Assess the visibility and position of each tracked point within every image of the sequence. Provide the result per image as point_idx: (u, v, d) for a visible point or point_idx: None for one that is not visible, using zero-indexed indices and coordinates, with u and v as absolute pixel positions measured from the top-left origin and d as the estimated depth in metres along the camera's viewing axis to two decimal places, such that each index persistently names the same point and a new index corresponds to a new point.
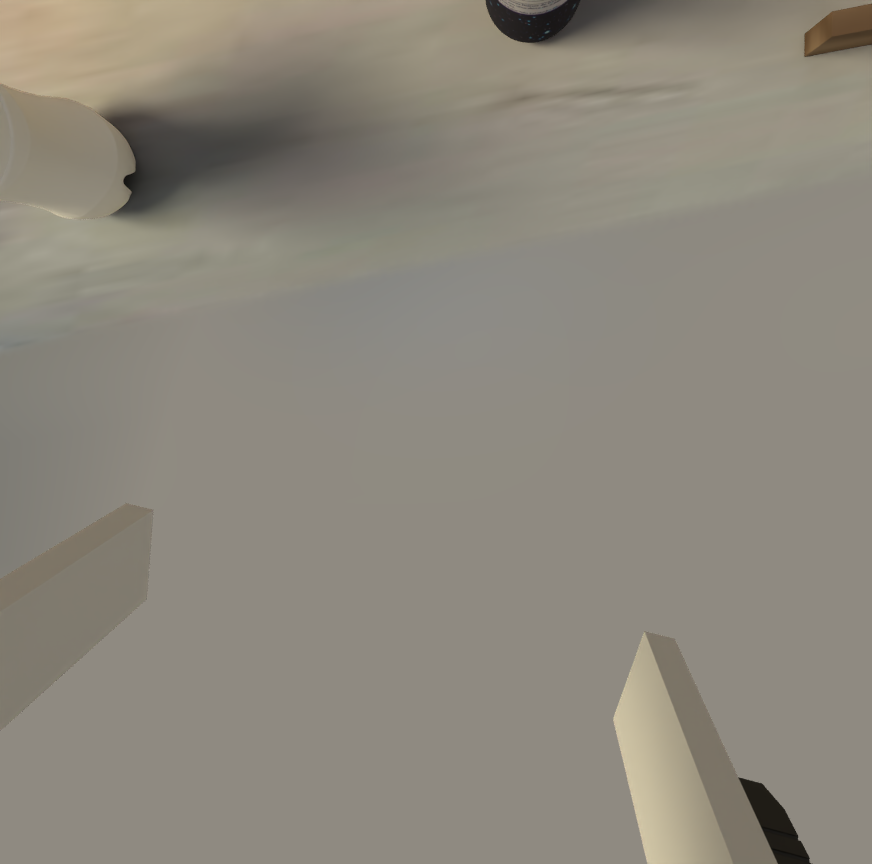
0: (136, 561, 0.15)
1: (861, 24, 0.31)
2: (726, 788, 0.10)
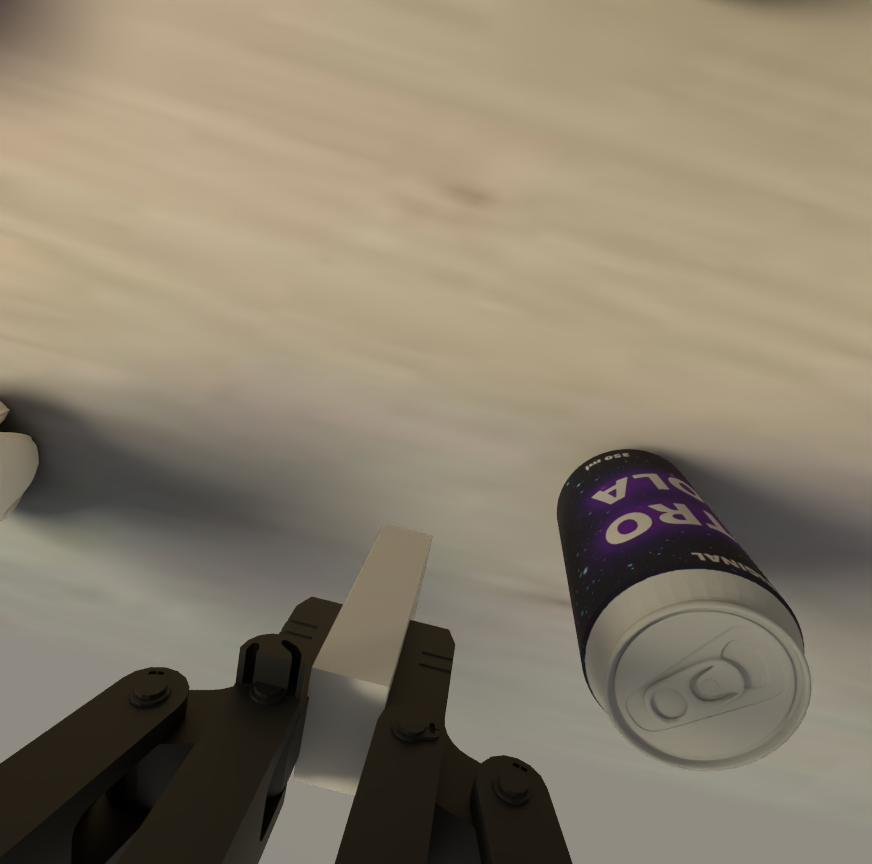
0: None
1: None
2: (392, 619, 0.13)
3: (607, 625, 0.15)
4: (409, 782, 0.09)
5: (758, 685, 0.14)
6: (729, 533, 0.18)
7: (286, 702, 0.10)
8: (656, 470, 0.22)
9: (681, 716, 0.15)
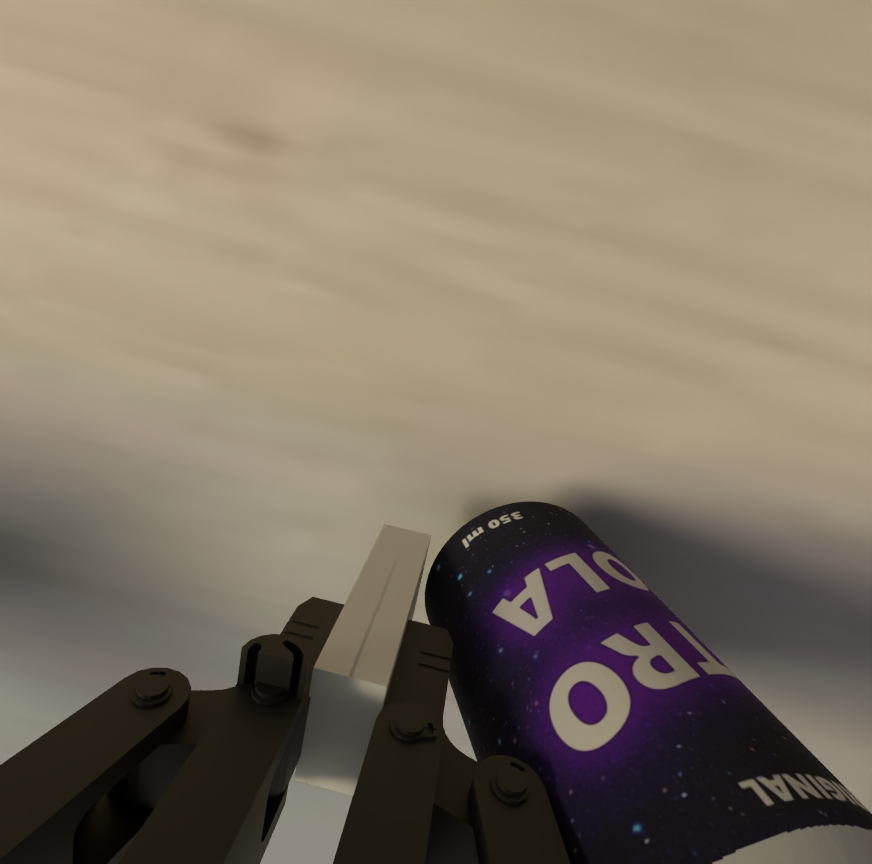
0: None
1: None
2: (391, 619, 0.13)
3: None
4: (408, 782, 0.09)
5: None
6: None
7: (288, 703, 0.10)
8: (571, 543, 0.15)
9: None
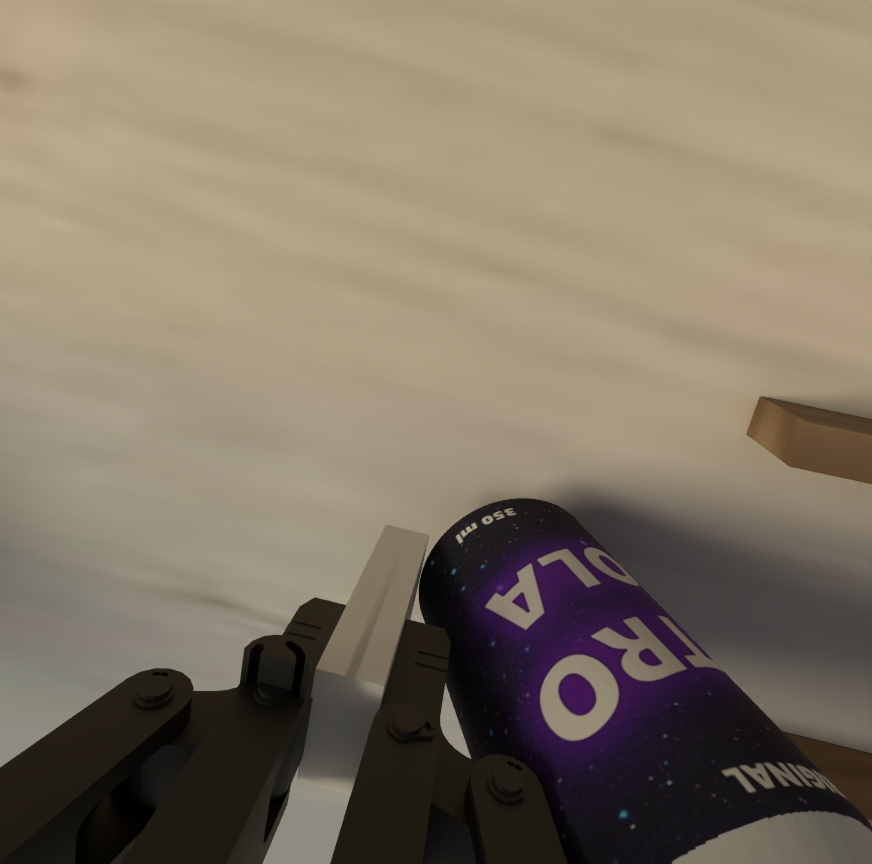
0: None
1: None
2: (388, 618, 0.13)
3: None
4: (405, 781, 0.09)
5: None
6: None
7: (290, 703, 0.10)
8: (563, 539, 0.15)
9: None
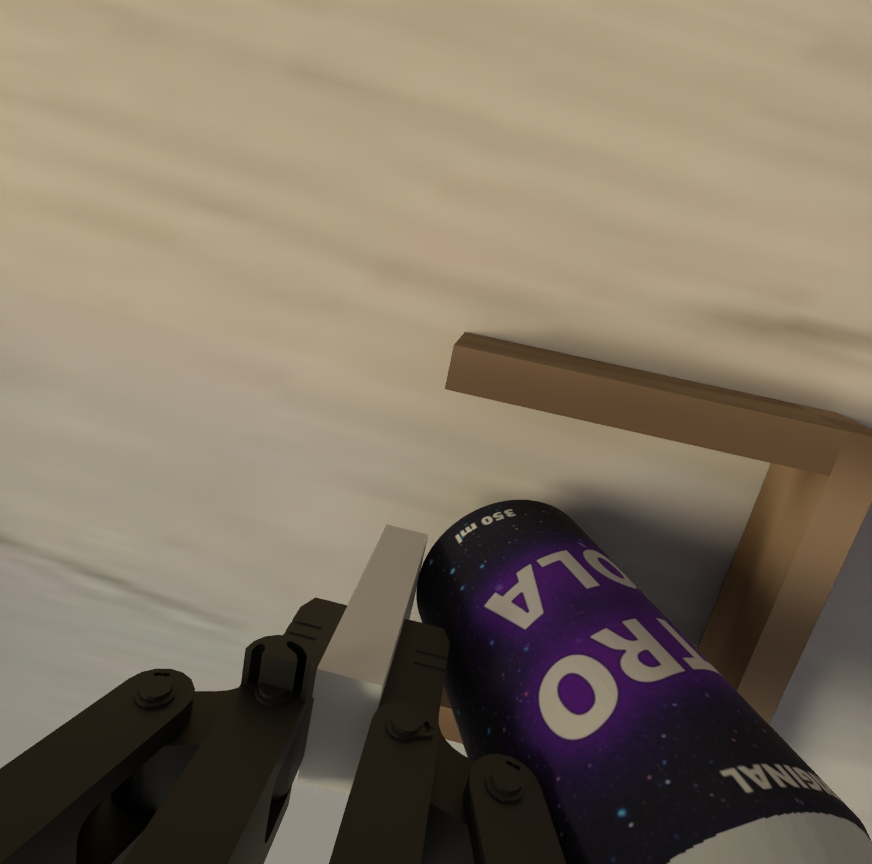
0: None
1: None
2: (387, 618, 0.13)
3: None
4: (404, 781, 0.09)
5: None
6: (698, 651, 0.12)
7: (291, 704, 0.10)
8: (562, 541, 0.15)
9: None
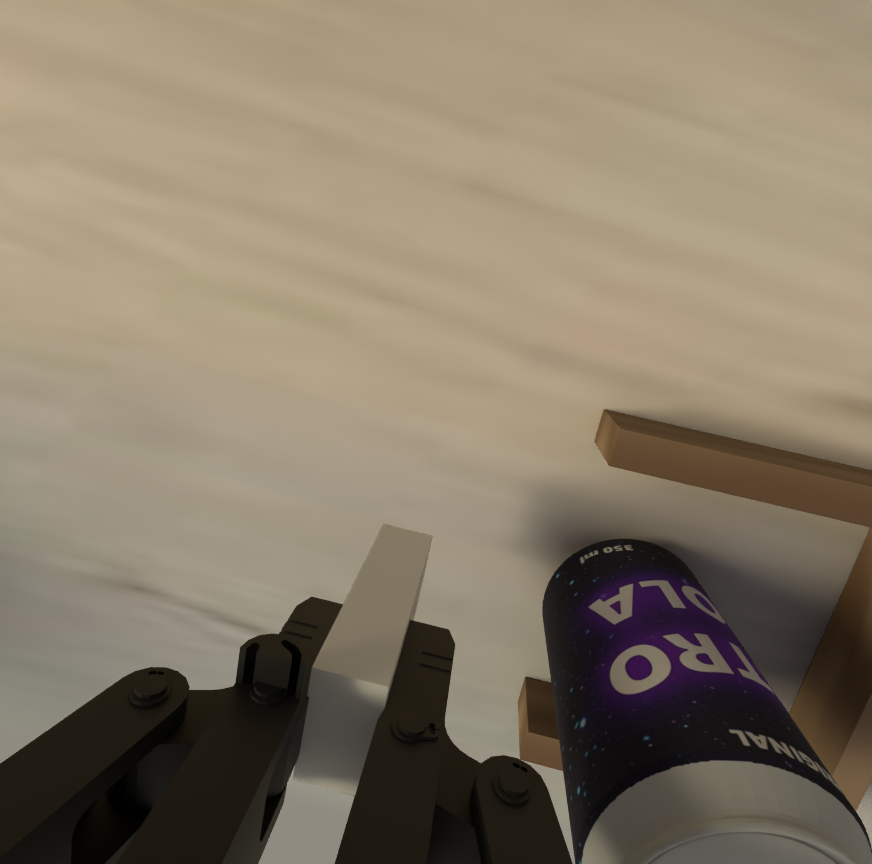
0: None
1: None
2: (392, 619, 0.13)
3: (615, 829, 0.11)
4: (409, 782, 0.09)
5: None
6: (762, 676, 0.15)
7: (286, 702, 0.10)
8: (667, 574, 0.18)
9: None
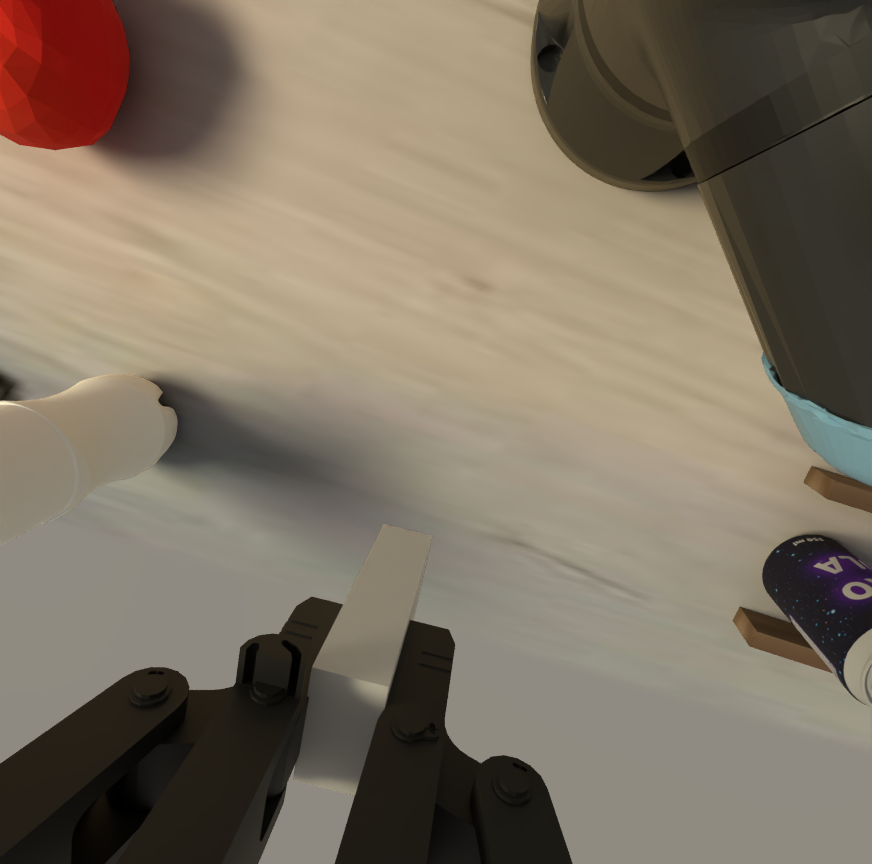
0: None
1: (772, 649, 0.39)
2: (392, 619, 0.13)
3: (866, 643, 0.30)
4: (409, 782, 0.09)
5: None
6: None
7: (286, 702, 0.10)
8: (848, 554, 0.36)
9: None
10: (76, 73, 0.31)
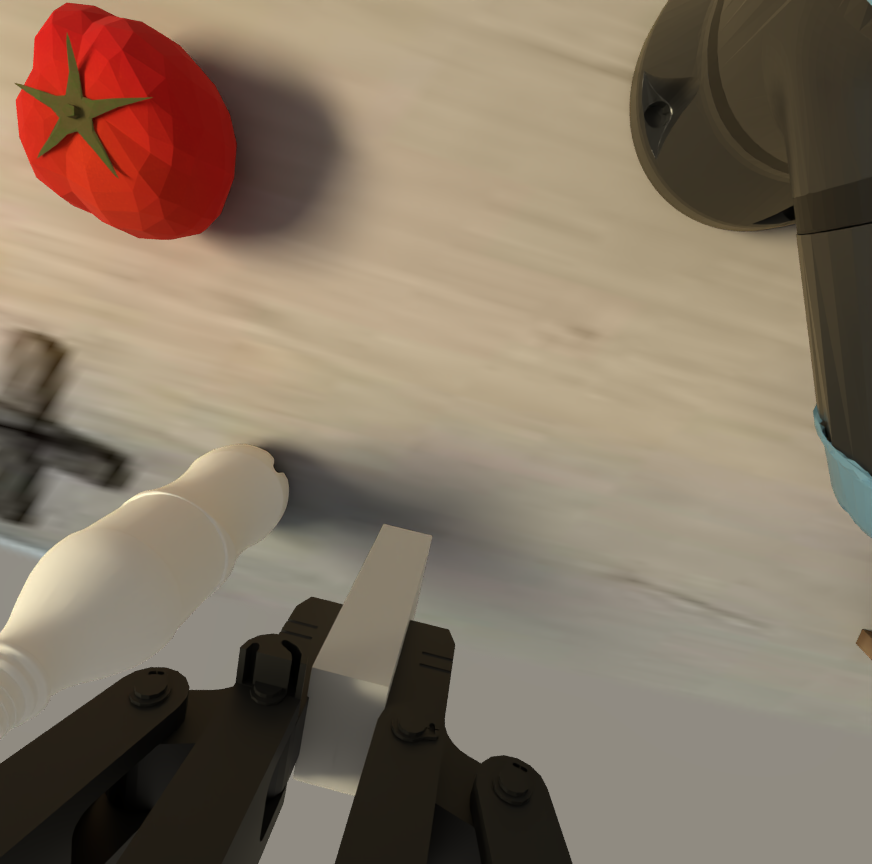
0: None
1: None
2: (392, 619, 0.13)
3: None
4: (409, 782, 0.09)
5: None
6: None
7: (286, 702, 0.10)
8: None
9: None
10: (199, 169, 0.32)
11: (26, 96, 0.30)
